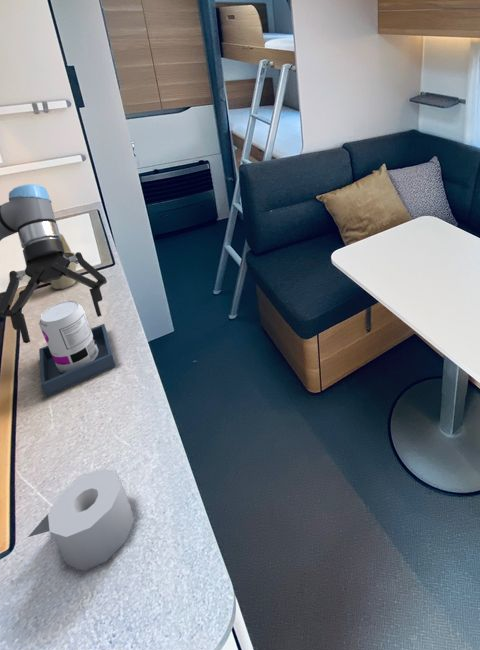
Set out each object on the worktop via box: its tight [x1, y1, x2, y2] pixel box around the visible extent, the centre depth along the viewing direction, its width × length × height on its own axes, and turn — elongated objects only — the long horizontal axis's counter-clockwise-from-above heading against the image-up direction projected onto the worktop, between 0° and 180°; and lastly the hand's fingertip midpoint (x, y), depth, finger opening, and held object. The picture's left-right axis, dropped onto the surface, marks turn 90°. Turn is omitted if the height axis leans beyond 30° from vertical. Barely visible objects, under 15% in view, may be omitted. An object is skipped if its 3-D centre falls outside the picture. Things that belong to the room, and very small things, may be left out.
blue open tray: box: [38, 323, 117, 398], centre depth 97 cm, size 13×13×4 cm
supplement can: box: [38, 300, 99, 373], centre depth 95 cm, size 8×8×15 cm
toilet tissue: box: [27, 467, 135, 572], centre depth 63 cm, size 9×13×9 cm
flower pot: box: [49, 251, 77, 290], centre depth 125 cm, size 9×9×9 cm
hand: (64, 328), depth 93 cm, fingers open, 13 cm apart
